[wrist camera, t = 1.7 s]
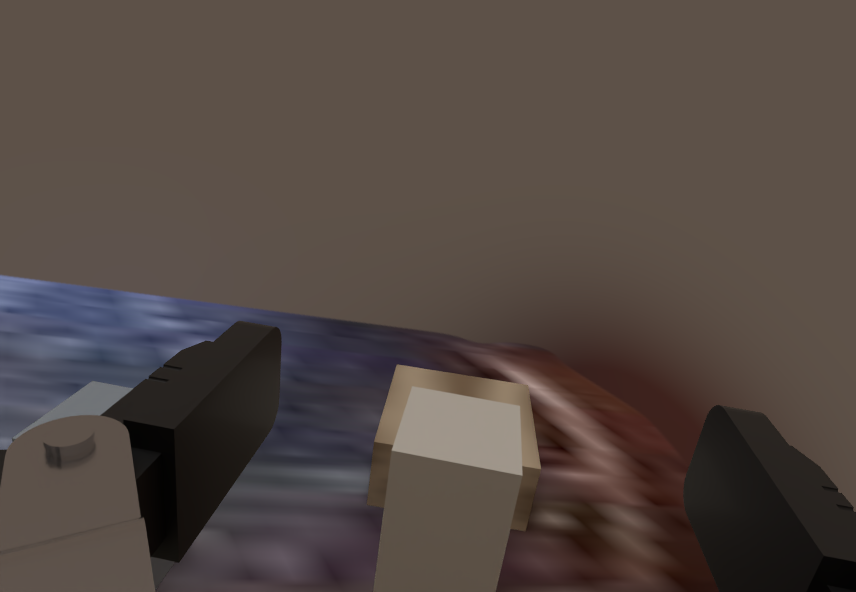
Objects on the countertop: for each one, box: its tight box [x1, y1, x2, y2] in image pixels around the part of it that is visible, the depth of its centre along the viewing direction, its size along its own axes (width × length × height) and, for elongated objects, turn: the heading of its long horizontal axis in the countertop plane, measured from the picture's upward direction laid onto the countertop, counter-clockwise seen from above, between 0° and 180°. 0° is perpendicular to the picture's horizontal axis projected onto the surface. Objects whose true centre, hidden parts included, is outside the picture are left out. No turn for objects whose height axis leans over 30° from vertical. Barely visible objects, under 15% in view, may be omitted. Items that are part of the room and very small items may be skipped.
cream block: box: [373, 386, 523, 592], centre depth 26 cm, size 5×5×12 cm
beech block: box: [367, 365, 541, 531], centre depth 39 cm, size 10×10×5 cm
